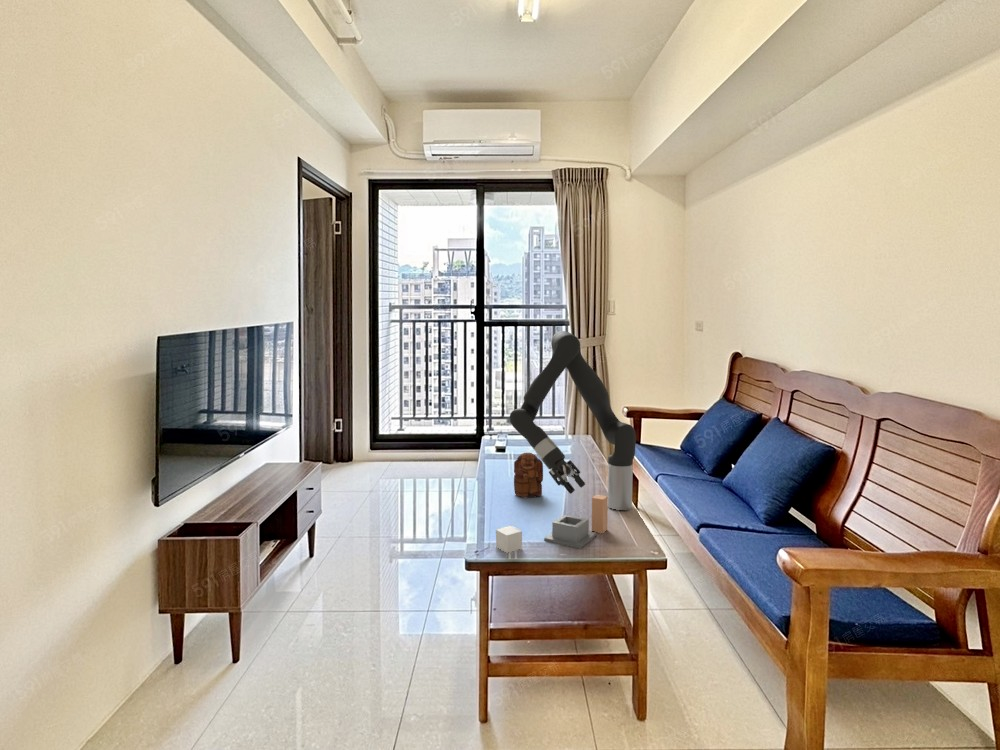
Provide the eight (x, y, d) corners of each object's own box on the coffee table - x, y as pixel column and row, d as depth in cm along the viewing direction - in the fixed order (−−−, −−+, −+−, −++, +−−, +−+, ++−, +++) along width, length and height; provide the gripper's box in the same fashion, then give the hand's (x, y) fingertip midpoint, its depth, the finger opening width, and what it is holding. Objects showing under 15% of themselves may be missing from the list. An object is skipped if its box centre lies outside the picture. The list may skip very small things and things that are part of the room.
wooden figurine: (515, 498, 234) (515, 455, 232) (513, 493, 240) (513, 451, 238) (544, 497, 235) (544, 454, 233) (541, 492, 241) (541, 450, 239)
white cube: (510, 543, 188) (510, 525, 187) (522, 549, 183) (522, 531, 182) (495, 547, 184) (495, 529, 183) (507, 553, 179) (506, 535, 179)
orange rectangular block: (591, 531, 197) (592, 497, 196) (596, 527, 200) (596, 494, 199) (602, 533, 195) (602, 499, 194) (607, 530, 198) (607, 496, 197)
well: (544, 540, 189) (544, 523, 189) (562, 528, 200) (562, 511, 199) (580, 548, 182) (580, 530, 182) (596, 535, 193) (596, 518, 192)
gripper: (546, 450, 198) (576, 488, 193) (564, 442, 210) (593, 477, 205) (533, 463, 201) (562, 500, 196) (552, 455, 213) (580, 490, 208)
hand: (578, 489), depth 201 cm, fingers open, 8 cm apart
